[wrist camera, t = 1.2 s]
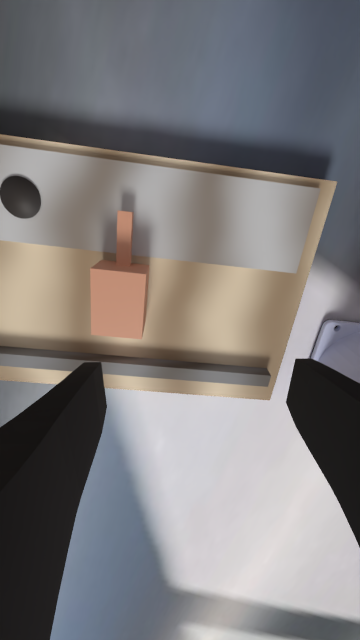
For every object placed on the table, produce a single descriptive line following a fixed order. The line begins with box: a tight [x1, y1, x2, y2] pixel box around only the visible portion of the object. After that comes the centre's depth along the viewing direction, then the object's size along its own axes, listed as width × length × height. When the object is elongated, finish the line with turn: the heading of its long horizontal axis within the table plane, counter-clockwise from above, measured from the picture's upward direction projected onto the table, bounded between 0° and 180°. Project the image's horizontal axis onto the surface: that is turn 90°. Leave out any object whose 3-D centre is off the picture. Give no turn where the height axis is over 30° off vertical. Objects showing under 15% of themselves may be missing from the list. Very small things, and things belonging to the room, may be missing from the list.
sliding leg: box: [90, 210, 150, 339], centre depth 16 cm, size 3×7×2 cm, turn 173°
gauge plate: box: [0, 134, 337, 400], centre depth 17 cm, size 28×16×4 cm, turn 83°
